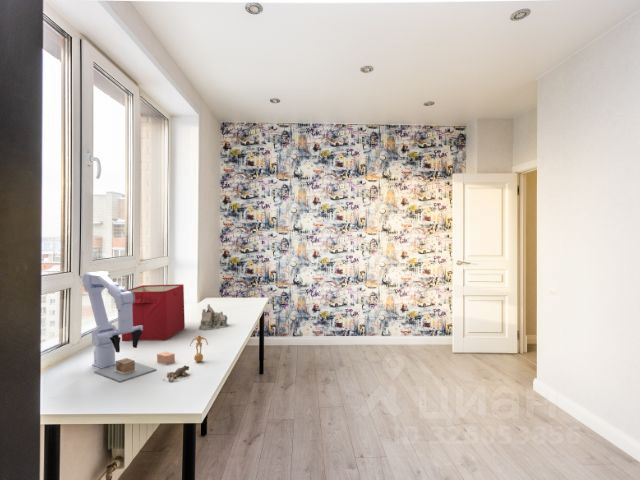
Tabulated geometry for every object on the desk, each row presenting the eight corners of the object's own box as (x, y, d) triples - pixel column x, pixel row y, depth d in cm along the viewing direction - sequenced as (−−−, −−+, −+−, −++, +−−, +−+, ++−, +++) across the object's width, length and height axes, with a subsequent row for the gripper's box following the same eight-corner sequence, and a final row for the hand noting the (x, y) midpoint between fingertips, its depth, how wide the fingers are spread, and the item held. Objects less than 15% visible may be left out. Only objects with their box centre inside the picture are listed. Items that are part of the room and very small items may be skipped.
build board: (94, 372, 166) (94, 370, 166) (130, 361, 179) (130, 360, 179) (119, 382, 153) (119, 380, 153) (156, 370, 166) (156, 368, 166)
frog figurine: (182, 370, 166) (182, 361, 166) (197, 376, 158) (197, 367, 158) (157, 378, 157) (156, 369, 157) (171, 385, 150) (171, 375, 150)
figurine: (188, 363, 174) (187, 337, 174) (191, 359, 180) (190, 334, 180) (207, 362, 175) (206, 336, 175) (209, 358, 181) (208, 333, 181)
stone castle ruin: (195, 329, 239) (196, 306, 239) (209, 324, 255) (210, 302, 255) (217, 332, 234) (218, 308, 235) (230, 327, 250) (231, 304, 250)
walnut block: (116, 370, 166) (115, 360, 166) (126, 366, 170) (126, 358, 170) (124, 372, 162) (124, 363, 162) (134, 369, 166) (134, 360, 166)
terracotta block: (157, 362, 178) (157, 354, 177) (166, 359, 181) (165, 351, 181) (165, 365, 173) (165, 356, 173) (174, 362, 177) (174, 353, 177)
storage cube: (166, 341, 214) (164, 290, 213) (118, 342, 214) (117, 291, 214) (187, 327, 246) (186, 283, 246) (145, 328, 246) (144, 284, 246)
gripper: (113, 323, 158) (114, 355, 158) (146, 316, 170) (147, 346, 170) (104, 321, 162) (105, 353, 162) (137, 315, 174) (138, 344, 174)
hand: (126, 349), depth 166 cm, fingers open, 7 cm apart
